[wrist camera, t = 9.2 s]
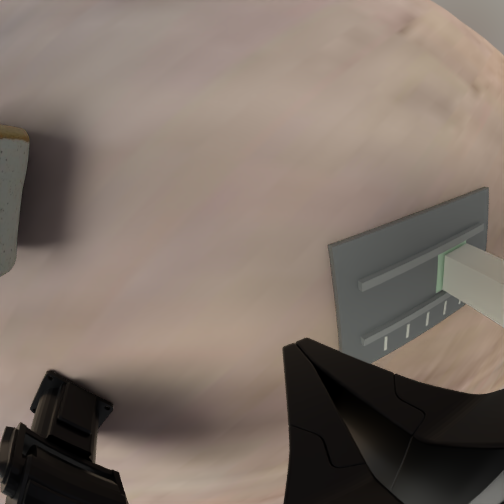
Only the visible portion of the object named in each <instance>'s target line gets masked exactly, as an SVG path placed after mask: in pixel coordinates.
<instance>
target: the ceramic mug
mask: <svg viewBox="0 0 504 504" xmlns="http://www.w3.org/2000/svg"><path fill="white" fill-rule="evenodd" d="M29 143H30V140H29V136H28V134H27V132H26V131H25V130H24V129H22V128H18V127H12V126H7V125H1V124H0V277H1V276H2V275H4V274H6V273H7V272H9V271H10V270H11V269H12V267H13V266H14V264H15V261H16V251H17V234H18V225H19V214H20V205H21V197H22V189H23V184H24V180H25V175H26V170H27V163H28V156H29Z"/></svg>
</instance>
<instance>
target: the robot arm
mask: <svg viewBox="0 0 504 504" xmlns="http://www.w3.org/2000/svg"><path fill="white" fill-rule="evenodd" d="M283 362H284V373H285V386H286V398H287V411H288V425H289V450H290V452H289V465H288V474H287V482H286V489H285V497H284V503H283V504H504V389H502V390H498V391H495V392H492V393H488V394H469V393H464V392H459V391H454V390H450V389H445V388H441V387H436V386H432V385H429V384H425V383H421V382H418V381H415V380H412V379H409V378H406V377H403V376H401V375H398V374H394V373H392V372H390V371H387V370H385V369H382V368H380V367H377V366H375V365H372V364H369V363H367V362H364V361H362V360H360V359H357V358H355V357H352V356H350V355H347V354H345V353H342V352H340V351H338V350H335V349H333V348H331V347H328V346H326V345H323V344H321V343H319V342H316V341H314V340H312V339H310V338H304V339H301V340H299V341H297V342H296V343H292V344H289V345H287V346H284V347H283ZM50 376H51V377H50ZM106 406H107V407H106ZM30 410H31V411H32V412H33V413H35V416H34V419H33V423H32V426H31V430H30V429H29V428H27V426H26V425H24V424H23V423H21V422H20V423H19V425H18V426H17V428H15V427H14V428H13V427H7V426H6V428H5V430H4V433H3V436H2V439H1V442H0V486H1V492H2V493H3V494H5V495H7V497H6V503H5V504H128V501H127V498H126V495H125V492H124V488H123V485H122V482H121V478H120V475H119V472H117V471H114V470H110V469H107V468H105V467H102V466H100V465H98V464H95V459H96V444H97V433H98V428H99V427H100V426H101V424H102V423H103V422H104V421H105V419H106V418H107V417H108V416H109V414H110V413H111V412H112V411H113V404H112V403H111V402H109V401H107V400H105V399H102V398H100V397H98V396H96V395H94V394H92V393H91V392H89V391H87V390H85V389H83V388H81V387H79V386H77V385H75V384H74V383H72V382H70V381H68V380H66V379H65V378H63V377H61V376H59V375H58V374H56V373H54V372H52V371H47V372H46V374H45V376H44V378H43V380H42V382H41V385H40V387H39V389H38V391H37V393H36V395H35V398H34V400H33V402H32V404H31V407H30Z"/></svg>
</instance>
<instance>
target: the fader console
mask: <svg viewBox="0 0 504 504" xmlns="http://www.w3.org/2000/svg"><path fill="white" fill-rule="evenodd" d="M488 204H489V188H488V187H483V188H480V189H478V190H475V191H472V192H470V193H467V194H465V195H462V196H459V197H457V198H454V199H452V200H449V201H446V202H444V203H441V204H439V205H436V206H433V207H431V208H428V209H425V210H423V211H420V212H417V213H415V214H412V215H409V216H407V217H404V218H401V219H399V220H396V221H393V222H390V223H388V224H385V225H382V226H380V227H377V228H374V229H371V230H369V231H366V232H363V233H360V234H358V235H355V236H352V237H349V238H347V239H344V240H341V241H338V242H336V243H333V244H330V245H328V249H329V256H330V264H331V271H332V280H333V288H334V297H335V306H336V316H337V326H338V337H339V350H340V352H342V353H345V354H347V355H350V356H352V357H355V358H357V359H360V360H362V361H364V362H367V363H369V364H371V363H373V362H374V361H376V360H378V359H380V358H382V357H384V356H385V355H387V354H389V353H391V352H392V351H394V350H396V349H398V348H399V347H401V346H403V345H404V344H406V343H408V342H409V341H411V340H413V339H414V338H416V337H418V336H419V335H421V334H422V333H424V332H426V331H427V330H429V329H430V328H432V327H433V326H435V325H436V324H438V323H439V322H441V321H442V320H444V319H445V318H447V317H448V316H450V315H451V314H453V313H454V312H455V311H457V310H458V309H460V308H461V307H462V306H464V305H465V304H466V303H464V302H462V301H461V300H459V299H457V298H456V297H454V296H452V295H451V294H449V293H447V292H446V291H444V290H442V288H443V276H444V262H445V255H446V254H448V253H450V252H452V251H454V250H455V249H457V248H459V247H461V246H463V245H464V244H466V243H467V244H470V245H472V246H474V247H477V248H479V249H481V250H483V251H486V242H487V228H488Z"/></svg>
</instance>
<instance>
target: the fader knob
mask: <svg viewBox="0 0 504 504" xmlns="http://www.w3.org/2000/svg"><path fill="white" fill-rule="evenodd" d="M442 290H444V291H446V292H447V293H449V294H451V295H452V296H454V297H456V298H457V299H459V300H461V301H462V302H464V303H466V304H467V305H469V306H470V307H472V308H474V309H475V310H477V311H478V312H480V313H482V314H483V315H485V316H486V317H488V318H489V319H491V320H492V321H494V322H496V323H497V324H499V325H500V326H502V327H503V328H504V260H503V259H501V258H499V257H497V256H495V255H492V254H490V253H488V252H486V251H483V250H481V249H479V248H477V247H474V246H472V245H470V244H467V243H466V244H464V245H463V246H461V247H459V248H457V249H455V250H454V251H452V252H450V253H448V254H446V255H445V262H444V276H443V288H442Z"/></svg>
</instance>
